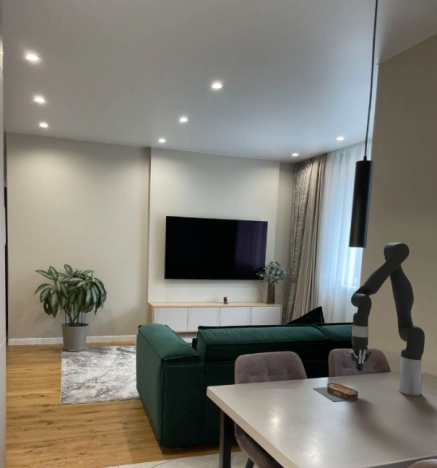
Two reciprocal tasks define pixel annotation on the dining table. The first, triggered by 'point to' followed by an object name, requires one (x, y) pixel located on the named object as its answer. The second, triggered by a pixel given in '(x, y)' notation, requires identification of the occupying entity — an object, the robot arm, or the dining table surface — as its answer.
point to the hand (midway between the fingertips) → (359, 370)
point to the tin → (342, 391)
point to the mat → (330, 395)
